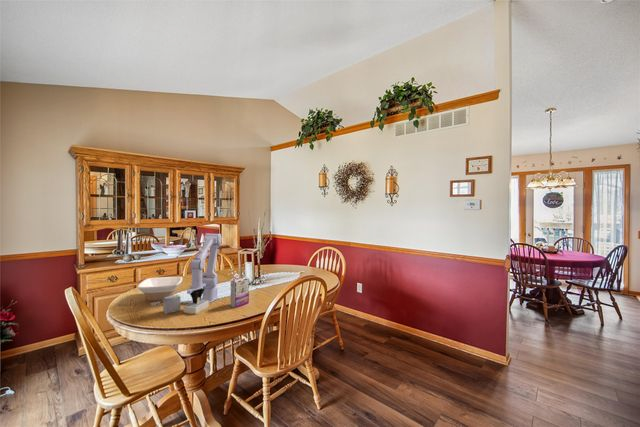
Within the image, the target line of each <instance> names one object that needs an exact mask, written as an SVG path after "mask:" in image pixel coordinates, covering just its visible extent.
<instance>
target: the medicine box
mask: <svg viewBox="0 0 640 427" xmlns="http://www.w3.org/2000/svg"><path fill="white" fill-rule="evenodd" d="M162 301H163V302H162V303H163V304H162V308H163V309H162V310H163V313H164V314H166V315H167V314H172V313H175V312H179V311H181V296H180V295H178V294H173V295H172V296H169V297H165V298H163V300H162Z"/></svg>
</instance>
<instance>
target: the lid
mask: <svg viewBox="0 0 640 427" xmlns="http://www.w3.org/2000/svg"><path fill="white" fill-rule="evenodd" d="M191 302H192V303H191ZM191 302H189V303H190V304H189V303H187V304H188V305H187V304H186V305H187V306H191V307H197V306H198V305H200V304H202V303H204V302H206V300H202V299H201V300H200V297H198V299H197V303H193V301H191Z"/></svg>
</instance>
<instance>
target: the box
mask: <svg viewBox="0 0 640 427" xmlns="http://www.w3.org/2000/svg"><path fill="white" fill-rule="evenodd" d="M192 302H193V301H191V302H188V303H187V304H185V305H184V306H183V314H188V315H189V314H190V315H197V314H200V313H202V312H203V311H204V310H206V309H207V308H209V304H210V303H209V301H208V300H206V302H204V303H202V304H200V305H198V306H197V307H191V306H187V305H188V304H190V303H192Z"/></svg>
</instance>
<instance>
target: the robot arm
mask: <svg viewBox="0 0 640 427" xmlns="http://www.w3.org/2000/svg"><path fill="white" fill-rule="evenodd" d="M203 239H204V243H203V245H202V248H201V249H199V250H198V252H197V253H196V255H195V257H194V258H193V259H192V260H191V261H190V264H189V268H190V273H191V286H189V287H190V288H188V289H187V290H186V293H187V294H189V295H190V297H191V299H192V302H193V303H197V299H198V297H200V300H208V301H209V304H210V303H213V302H214V301H216V300H218V299H219V297H218V287H217V286H218V283H219V281H218V279H219V278H218V277H219V276H218V274H217V273H216V272H215V268H216V263H217V256H218V251H219V248H220V247H221V245H222V240H223V237H222V234H221V233H208V232H206V233H205V234H204V238H203ZM208 252H209V253H208ZM207 257H208V261H207V264H206V265H207V266H206V271H205V272H203V269H204V268H205V263H206V259H207Z"/></svg>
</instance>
